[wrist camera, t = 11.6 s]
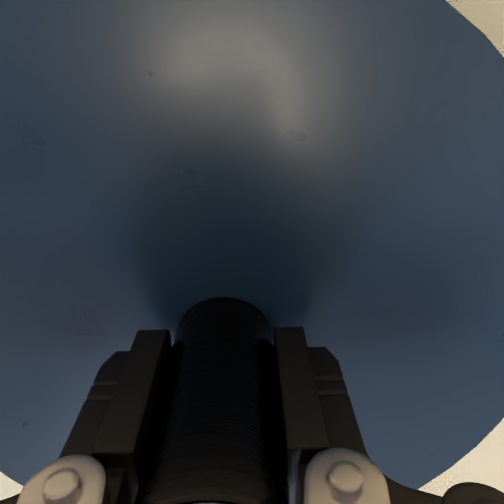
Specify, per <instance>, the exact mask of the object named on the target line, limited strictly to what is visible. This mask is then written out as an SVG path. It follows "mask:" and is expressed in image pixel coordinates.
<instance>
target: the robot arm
mask: <svg viewBox="0 0 504 504" xmlns="http://www.w3.org/2000/svg"><path fill="white" fill-rule="evenodd" d="M273 349H274V359H275V369H276V378H277V388H278V398H279V408H280V418H281V428H282V438H283V448H284V458H285V468H286V478H287V485H288V493H289V503H290V504H504V493H503V492H501V491H499V490H497V489H495V488H492V487H490V486H487V485H484V484H480V483H473V482H464V483H459V484H456V485H454V486H452V487H451V488H449V489H448V490H447V491H446V493H445V494H444V496H443V497H441V496H437V495H434V494H430V493H426V492H423V491H419V490H416V489H412V488H409V487H406V486H403V485H401V484H399V483H397V482H395V481H393V480H392V479H390V478H388V477H387V476H386V475H384V474H383V473H382V472H381V470H380V469H379V467H378V466H377V465H376V464H375V463H374V462H373V461H372V460H371V459H370V458H369V456H368V454H367V451H366V449H365V446H364V443H363V439H362V436H361V433H360V430H359V426H358V423H357V420H356V417H355V413H354V410H353V407H352V404H351V400H350V397H349V394H348V391H347V387H346V384H345V381H344V380H343V374H342V371H341V368H340V365H339V361H338V360H337V359H336V357H335V356H334V355H333V354H332V353H331V352H330V351H329V350H328V349H327V348H326V347H308V346H307V341H306V336H305V332H304V328H303V326H300V327H274V334H273ZM171 351H172V342H171V335H170V331H169V330H168V329H162V330H138V332H137V333H136V336H135V338H134V341H133V344H132V346H131V349H130V351H116V352H115V353H114V354H113V355H112V356H111V357H110V358H108V359H107V360H106V361H105V362H104V363H103V364H102V365H101V367H100V369H99V371H98V373H97V375H96V378H95V380H94V382H93V386H91V388H90V391H89V393H88V395H87V400H86V401H85V402H84V404H83V406H82V408H81V410H80V413H79V415H78V417H77V419H76V421H75V423H74V426H73V428H72V430H71V432H70V434H69V437H68V439H67V441H66V443H65V445H64V448H63V450H62V452H61V454H60V456H59V458H58V459H56V460H54V461H52V462H50V463H49V464H47V465H45V466H44V467H42V468H41V469H40V470H38V471H37V472H36V473H35V474H34V475H33V476H32V477H31V478H30V479H29V481H28V482H27V483H26V484H25V486H24V488H23V489H22V491H21V493H19V494H17V495H15V496H13V497H10V498H7V499H4V500H1V501H0V504H134V502H135V498H136V494H137V490H138V486H139V482H140V478H141V474H142V470H143V466H144V462H145V457H146V453H147V449H148V445H149V441H150V437H151V433H152V429H153V425H154V421H155V417H156V412H157V408H158V404H159V400H160V396H161V392H162V388H163V384H164V380H165V376H166V372H167V367H168V363H169V359H170V355H171Z"/></svg>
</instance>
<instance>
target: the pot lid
mask: <svg viewBox="0 0 504 504" xmlns="http://www.w3.org/2000/svg"><path fill="white" fill-rule="evenodd" d="M300 326H303V328H304V332H305V336H306V341H307V346H308V347H326V348H327V349H328V350H329V351H330V352H331V353H332V354H333V355H334V356H335V357H336V359H337V360H338V361H339V365H340V368H341V371H342V374H343V380H344V381H345V384H346V387H347V391H348V394H349V397H350V400H351V404H352V407H353V410H354V413H355V417H356V420H357V423H358V426H359V430H360V433H361V436H362V439H363V443H364V446H365V449H366V451H367V454H368V456H369V458H370V459H371V460H372V461H373V462H374V463H375V464H376V465H377V466H378V467H379V469H380V470H381V472H382V473H383V474H384V475H386V476H387V477H388V478H390V479H392V480H393V481H395V482H397V483H399V484H401V485H403V486H406V487H409V488H412V489H416V490H417V489H418V488H420V487H422V486H424V485H425V484H427V483H428V482H430V481H431V480H433V479H434V478H436V477H437V476H439V475H440V474H442V473H443V472H445V471H446V470H448V469H449V468H450V467H452V466H453V465H454V464H455V463H457V462H458V461H459V460H460V459H461V458H463V457H464V456H465V455H466V454H467V453H469V452H470V451H471V450H472V449H474V448H475V447H476V446H477V445H478V444H479V443H480V442H481V441H482V440H483V439H484V438H485V437H486V436H487V435H488V434H489V433H490V432H491V431H492V430H493V429H494V428H495V427H496V426H497V425H498V424H499V423H500V421H501V420H502V419H503V418H504V57H503V56H502V55H501V54H500V53H499V51H498V50H497V49H496V48H495V46H494V45H493V44H492V43H491V42H490V40H489V39H488V38H487V37H486V36H485V34H483V33H482V32H481V31H480V30H479V29H478V28H477V27H475V26H474V25H473V24H472V23H471V22H470V21H468V20H467V19H466V18H465V17H464V16H463V15H462V14H460V13H459V12H458V11H457V10H456V9H455V8H454V7H452V6H451V5H450V4H449V3H448V2H447V1H445V0H0V471H1V472H2V473H4V474H5V475H6V476H8V477H9V478H11V479H12V480H14V481H16V482H17V483H19V484H21V485H23V486H25V484H26V483H27V482H28V481H29V479H30V478H31V477H32V476H33V475H34V474H35V473H36V472H37V471H38V470H40V469H41V468H42V467H44V466H45V465H47V464H49V463H50V462H52V461H54V460H56V459H58V458H59V456H60V454H61V452H62V450H63V448H64V445H65V443H66V441H67V439H68V437H69V434H70V432H71V430H72V428H73V426H74V423H75V421H76V419H77V417H78V415H79V413H80V410H81V408H82V406H83V404H84V402H85V401H86V400H87V395H88V393H89V391H90V388H91V386H93V382H94V380H95V378H96V375H97V373H98V371H99V369H100V367H101V365H102V364H103V363H104V362H105V361H106V360H107V359H108V358H110V357H111V356H112V355H113V354H114V353H115V352H116V351H130V349H131V346H132V344H133V341H134V338H135V336H136V333H137V332H138V330H162V329H168V330H169V331H170V335H171V342H172V351H171V355H170V359H169V363H168V367H167V372H166V376H165V380H164V384H163V388H162V392H161V396H160V400H159V404H158V408H157V412H156V417H155V421H154V425H153V429H152V433H151V437H150V441H149V445H148V449H147V453H146V457H145V462H144V466H143V470H142V474H141V478H140V482H139V486H138V490H137V494H136V498H135V502H134V504H290V503H289V493H288V485H287V478H286V468H285V458H284V448H283V438H282V428H281V418H280V408H279V398H278V388H277V378H276V369H275V359H274V349H273V334H274V327H300Z"/></svg>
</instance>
